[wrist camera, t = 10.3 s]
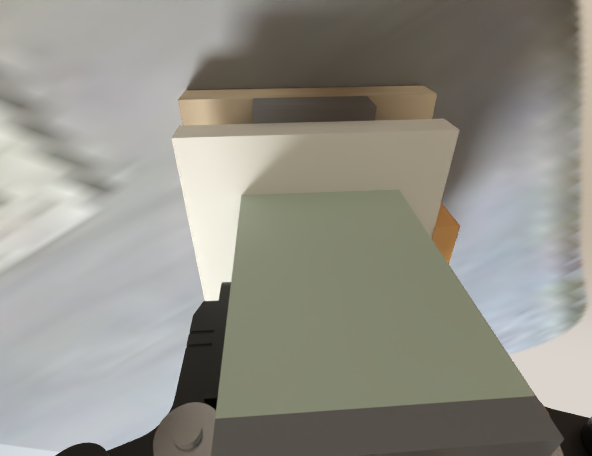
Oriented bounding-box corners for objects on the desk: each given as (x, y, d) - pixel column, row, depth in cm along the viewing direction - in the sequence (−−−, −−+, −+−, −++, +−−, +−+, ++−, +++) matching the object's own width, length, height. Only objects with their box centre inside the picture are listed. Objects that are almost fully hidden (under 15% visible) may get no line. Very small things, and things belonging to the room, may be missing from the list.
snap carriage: (222, 320, 16) (217, 362, 14) (186, 114, 11) (171, 138, 9) (405, 310, 16) (422, 348, 15) (454, 107, 11) (489, 130, 10)
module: (255, 334, 14) (247, 592, 8) (241, 195, 10) (209, 467, 4) (374, 327, 14) (452, 572, 8) (398, 189, 10) (564, 439, 5)
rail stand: (221, 305, 17) (216, 347, 15) (185, 90, 12) (169, 111, 10) (383, 296, 18) (399, 335, 16) (423, 85, 12) (454, 104, 10)
